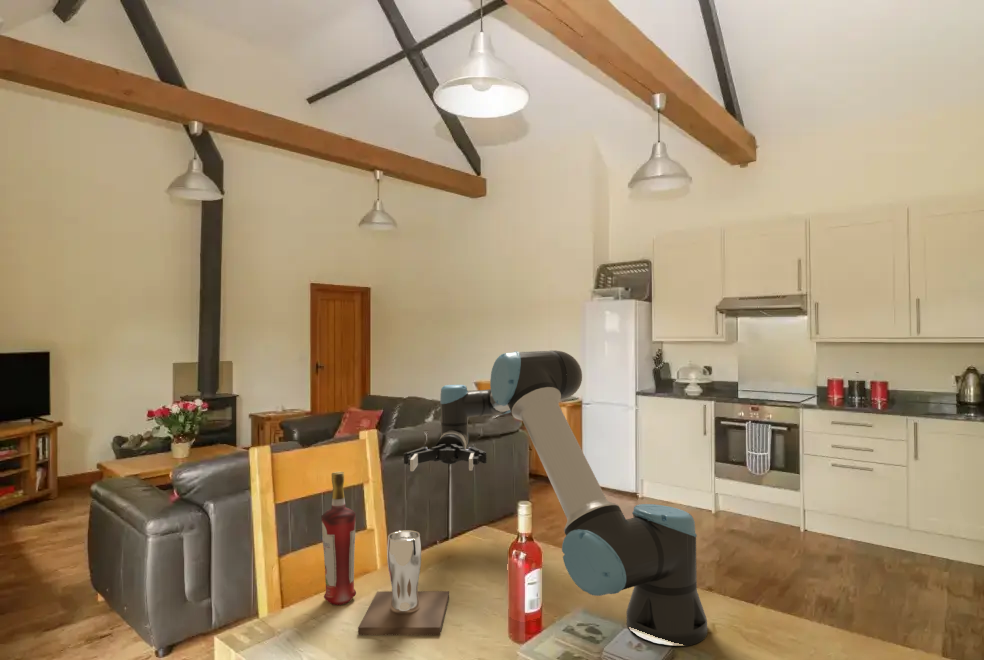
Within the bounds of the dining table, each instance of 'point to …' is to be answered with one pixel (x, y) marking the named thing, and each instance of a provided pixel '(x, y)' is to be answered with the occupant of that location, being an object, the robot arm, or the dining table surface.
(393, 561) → the silver metal tumbler
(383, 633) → the walnut board
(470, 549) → the dining table surface
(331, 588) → the liquor
